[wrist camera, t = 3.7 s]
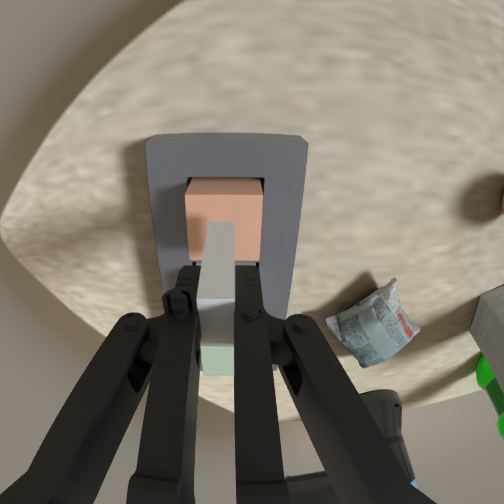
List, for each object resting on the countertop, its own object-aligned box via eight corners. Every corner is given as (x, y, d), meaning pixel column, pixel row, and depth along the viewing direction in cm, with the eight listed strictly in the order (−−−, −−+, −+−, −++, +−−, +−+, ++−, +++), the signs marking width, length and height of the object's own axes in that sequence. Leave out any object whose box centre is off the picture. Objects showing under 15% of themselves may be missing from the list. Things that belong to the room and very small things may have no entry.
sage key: (249, 346, 31) (251, 375, 28) (205, 345, 31) (203, 375, 28) (251, 315, 29) (253, 346, 25) (202, 315, 28) (199, 346, 25)
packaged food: (386, 264, 28) (405, 295, 24) (414, 320, 34) (429, 347, 30) (317, 306, 31) (327, 341, 27) (359, 352, 36) (368, 381, 32)
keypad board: (274, 350, 34) (276, 372, 32) (183, 349, 34) (180, 371, 31) (299, 135, 21) (309, 144, 18) (156, 134, 21) (143, 143, 18)
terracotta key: (256, 232, 24) (259, 260, 20) (196, 232, 24) (189, 260, 20) (259, 175, 21) (263, 195, 18) (193, 174, 21) (184, 194, 18)
